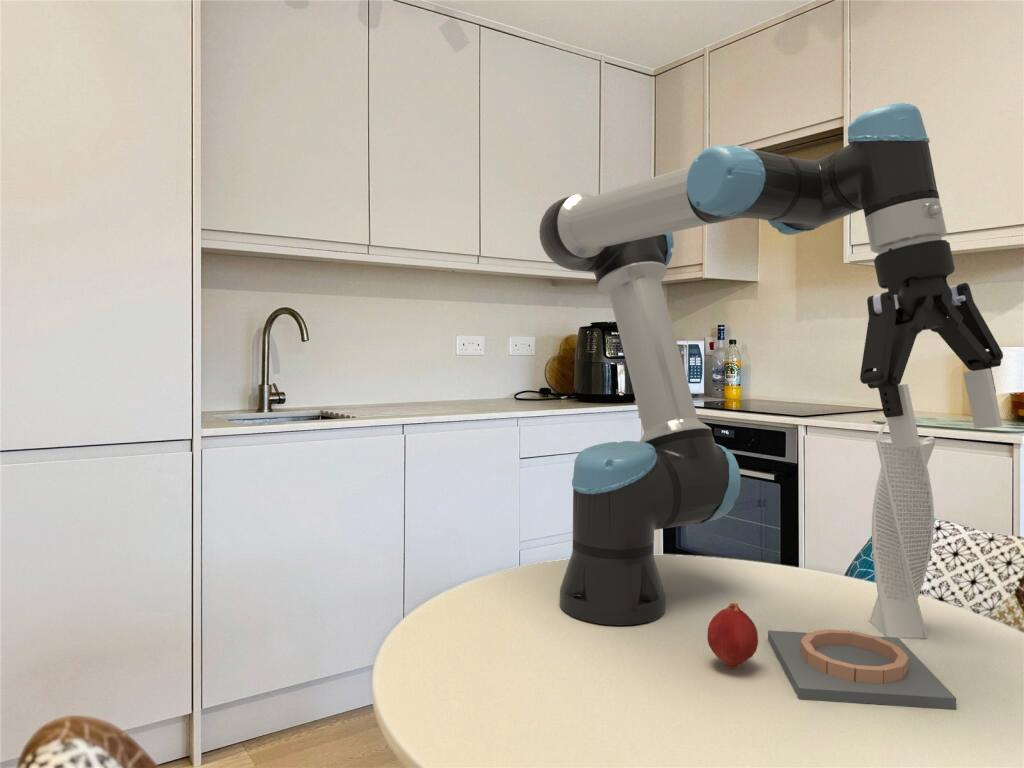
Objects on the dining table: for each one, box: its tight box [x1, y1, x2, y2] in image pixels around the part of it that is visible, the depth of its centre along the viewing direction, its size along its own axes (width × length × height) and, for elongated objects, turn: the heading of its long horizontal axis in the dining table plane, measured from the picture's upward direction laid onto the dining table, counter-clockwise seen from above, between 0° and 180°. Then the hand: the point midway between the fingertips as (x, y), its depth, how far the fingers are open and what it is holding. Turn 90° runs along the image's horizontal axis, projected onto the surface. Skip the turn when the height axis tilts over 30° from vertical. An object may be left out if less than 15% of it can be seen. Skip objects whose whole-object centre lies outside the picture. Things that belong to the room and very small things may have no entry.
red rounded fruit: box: [706, 601, 759, 669], centre depth 89 cm, size 6×6×8 cm
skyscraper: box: [868, 421, 936, 639], centre depth 100 cm, size 8×8×28 cm
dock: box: [767, 628, 957, 710], centre depth 88 cm, size 16×16×3 cm
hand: (949, 437), depth 82 cm, fingers open, 13 cm apart
